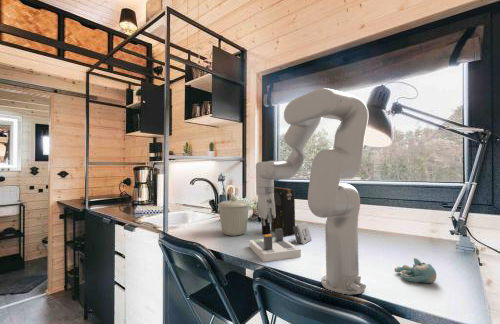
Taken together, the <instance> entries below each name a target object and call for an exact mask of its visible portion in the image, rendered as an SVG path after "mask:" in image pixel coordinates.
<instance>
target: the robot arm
mask: <svg viewBox="0 0 500 324" xmlns="http://www.w3.org/2000/svg"><path fill="white" fill-rule="evenodd" d="M323 118H325V119H330V120H337V121H340V123H339V125H338V127H337V128H336V131H335V134H334V140H333V146H332V147H328V148H323V149H321V150H320V151H318V152H317V153H316V154H315V156H314V158H313V159H312V163H311V168H310V174H309V175H310V176H309V183H308V191H307V204H308V207H309V210H310V212H311V213H312V214H313V215H314V216H315V217H318V218H321V219H326V222H325V270H326V271H325V275H324V276H322V278H321V282H320V283H321V285H322V286H323V288H325V289H326V290H327V289H328V290H327V291H329V290H331V291H330V292H332V291H335V292H338V293H342V294H341V295H344V294H347V296H348V295H349V296H352V295H353V296H354V295H358V294H362V292H364V291H365V289H366V288H367V285H366V284H365V283H364V282H363V281H362V278H361V277H362V276H361V275H360V269H359V267H360V266H359V264H360V263H359V213H360V208H361V196H360V193H359V192H358V190H357V189H356V187H354V186H353V185H351V184H350V183H345V182H343V183H342V182H340V181H346V180H351V179H354V178H357V176H358V175H359V174H360V172H361V168H362V167H361V166H362V160H363V155H364V154H363V153H364V146H365V137H366V132H367V127H368V123H369V109H368V107H367V104H366V103H365V102H364V101H363V100H362V99H360V98H359V97H357V96H355V95H353V94H350V93H348V92H343V91H340V90H336V89H332V88H328V87H327V88H325V87H322V88H318V89H314V90H312V91H309V92H307V93H305V94H303V95H301V96H298V97H296V98H294V99H292V100H291V101H289V102H288V104H287V105H286V106H285V109H284V111H283V119H284V121H285V123H286V124H288V125H289V127H288V129H287V130H286V133H284V135H283V140H284V142H285V144H287V146H288V147H290V148H291V153H290V154H289V156H288V157H287V159H286V160H268V161H258V162H256V163H255V194H256V196H257V215H258V217H259V218H260V219H261V235H262V236H264V235H265V234H271V222H272V219H271V218H273V219H274V218H275V217H276V213H275V201H274V187H275V182H274V181H275V180H285V179H286V180H288V179H291V178H293V177H294V176H295V175H296V174H297V173H298V172H299V170H300V169H301V167H302V166H303V164H304V161H305V147H306V145H307V143H308V142H309V140H310V139H311V137H312V136H313V134H314V133H315V132H316V130H317V128H318V126H319V125H320V123H322V120H323ZM338 293H337V294H338Z"/></svg>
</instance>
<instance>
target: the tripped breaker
mask: <svg viewBox="0 0 500 324" xmlns="http://www.w3.org/2000/svg"><path fill="white" fill-rule="evenodd" d="M272 238H273V235H272V234H271V233H270V234H265V235H263V239H264V249H272Z"/></svg>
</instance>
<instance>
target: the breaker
mask: <svg viewBox="0 0 500 324" xmlns="http://www.w3.org/2000/svg"><path fill="white" fill-rule="evenodd" d="M274 235H275V236H274V238H275V240H276V241H282V240H283V239H284V236H283V229H281V228H279V229H275V232H274Z"/></svg>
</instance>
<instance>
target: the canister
mask: <svg viewBox="0 0 500 324" xmlns="http://www.w3.org/2000/svg"><path fill="white" fill-rule="evenodd" d="M250 205H251V203H249V202H248V201H247V200H246V201H245V200H241V199H240V200H239V199H238V197H237V196H236V195H231V197H230V200H223V201H221V202H219V203H217V206H218V211H219V218H220V219H219V221H220V227H221V228H220V229H221V230H222V234H224V235H226V236H229V237H231V236H234V237H235V236H237V237H238V236H241V235H244V234H245V233H246V231H247V229H248V227H247V226H248V219H249V207H250Z"/></svg>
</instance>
